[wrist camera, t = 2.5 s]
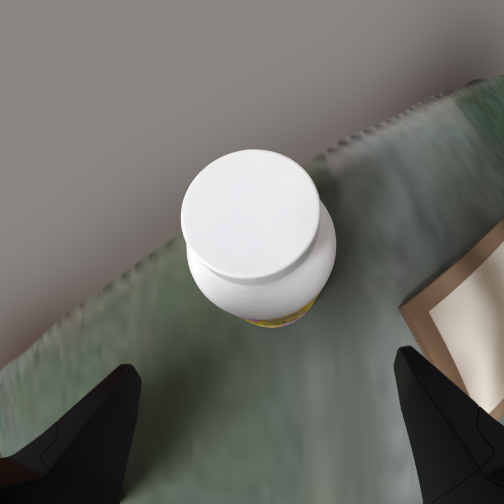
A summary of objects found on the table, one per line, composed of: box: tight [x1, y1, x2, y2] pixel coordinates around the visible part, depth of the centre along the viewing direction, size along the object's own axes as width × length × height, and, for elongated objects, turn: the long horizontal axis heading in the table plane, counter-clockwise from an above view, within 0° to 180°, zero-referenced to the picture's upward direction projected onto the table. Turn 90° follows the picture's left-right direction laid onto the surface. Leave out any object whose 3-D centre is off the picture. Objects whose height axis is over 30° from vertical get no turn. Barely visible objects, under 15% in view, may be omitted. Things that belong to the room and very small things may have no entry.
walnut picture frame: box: [398, 218, 504, 420], centre depth 17 cm, size 14×14×1 cm
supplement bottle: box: [181, 150, 336, 328], centre depth 16 cm, size 7×7×13 cm
